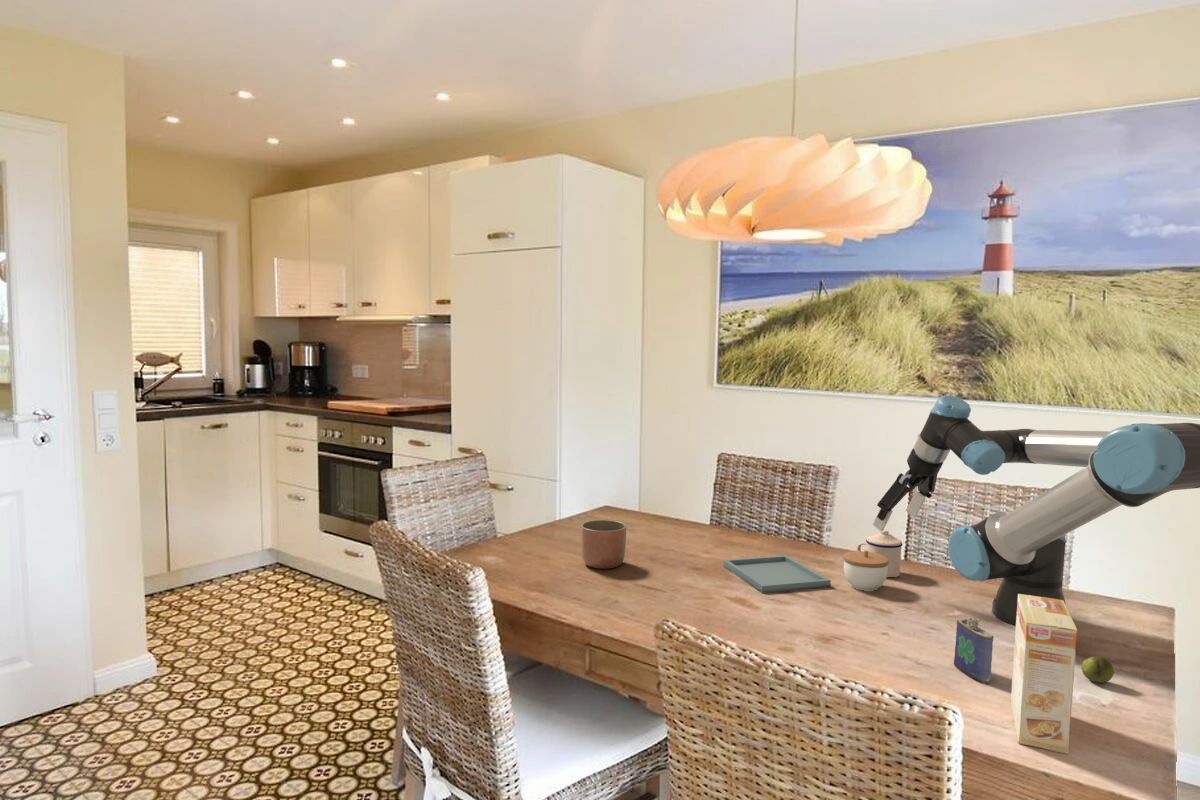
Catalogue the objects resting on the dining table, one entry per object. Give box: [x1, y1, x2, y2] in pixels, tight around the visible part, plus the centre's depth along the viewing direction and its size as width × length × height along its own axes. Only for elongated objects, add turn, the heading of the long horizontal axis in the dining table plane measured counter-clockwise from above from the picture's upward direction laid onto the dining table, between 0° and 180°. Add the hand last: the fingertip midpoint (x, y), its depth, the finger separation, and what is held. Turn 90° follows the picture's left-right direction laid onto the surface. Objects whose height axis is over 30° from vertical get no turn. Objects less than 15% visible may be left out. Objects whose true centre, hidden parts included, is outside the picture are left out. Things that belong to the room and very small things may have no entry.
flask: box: [953, 616, 994, 685], centre depth 140 cm, size 9×3×11 cm, turn 8°
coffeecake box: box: [1010, 594, 1078, 755], centre depth 120 cm, size 15×7×20 cm, turn 155°
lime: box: [1080, 656, 1115, 684], centre depth 137 cm, size 4×5×5 cm
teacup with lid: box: [856, 529, 903, 578], centre depth 200 cm, size 12×9×12 cm
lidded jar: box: [842, 549, 889, 592], centre depth 188 cm, size 11×11×9 cm
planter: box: [580, 519, 627, 570], centre depth 204 cm, size 12×12×11 cm
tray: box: [722, 554, 831, 594], centre depth 196 cm, size 22×19×2 cm
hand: (894, 520), depth 191 cm, fingers open, 13 cm apart
